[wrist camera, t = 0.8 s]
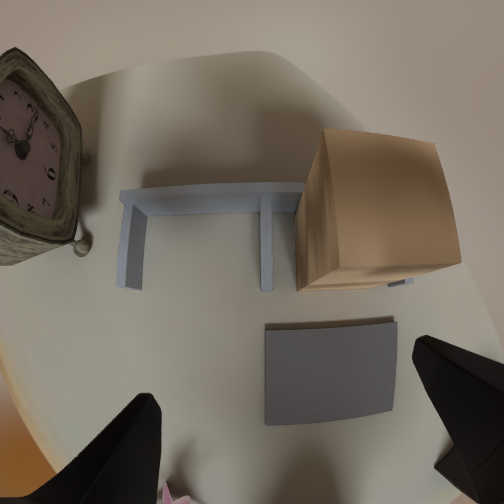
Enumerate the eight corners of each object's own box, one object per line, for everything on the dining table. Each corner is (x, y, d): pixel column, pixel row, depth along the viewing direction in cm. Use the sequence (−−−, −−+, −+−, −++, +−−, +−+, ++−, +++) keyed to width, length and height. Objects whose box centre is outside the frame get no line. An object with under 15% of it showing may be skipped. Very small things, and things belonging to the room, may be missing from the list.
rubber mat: (389, 408, 18) (392, 410, 18) (265, 422, 19) (265, 425, 18) (394, 321, 20) (397, 321, 20) (265, 330, 20) (265, 330, 20)
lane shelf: (396, 286, 21) (420, 281, 17) (133, 289, 21) (109, 284, 18) (387, 205, 22) (406, 187, 18) (140, 208, 23) (120, 190, 19)
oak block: (367, 288, 21) (461, 262, 9) (296, 291, 21) (339, 266, 9) (361, 218, 22) (434, 143, 10) (294, 218, 22) (323, 128, 11)
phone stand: (433, 467, 16) (493, 513, 4) (469, 425, 17) (539, 454, 5) (456, 488, 15) (505, 524, 3) (487, 452, 15) (542, 478, 4)
